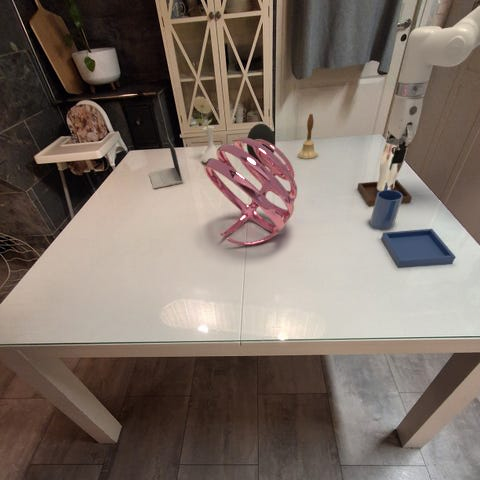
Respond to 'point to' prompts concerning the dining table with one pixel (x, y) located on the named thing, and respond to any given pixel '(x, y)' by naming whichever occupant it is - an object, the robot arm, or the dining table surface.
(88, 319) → the dining table surface
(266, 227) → the spiral basket
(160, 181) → the laptop
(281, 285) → the dining table surface
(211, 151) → the flower in vase
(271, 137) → the decorative egg
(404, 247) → the blue tray
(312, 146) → the hand bell
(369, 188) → the walnut tray
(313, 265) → the dining table surface
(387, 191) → the blue cup
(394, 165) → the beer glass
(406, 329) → the dining table surface
